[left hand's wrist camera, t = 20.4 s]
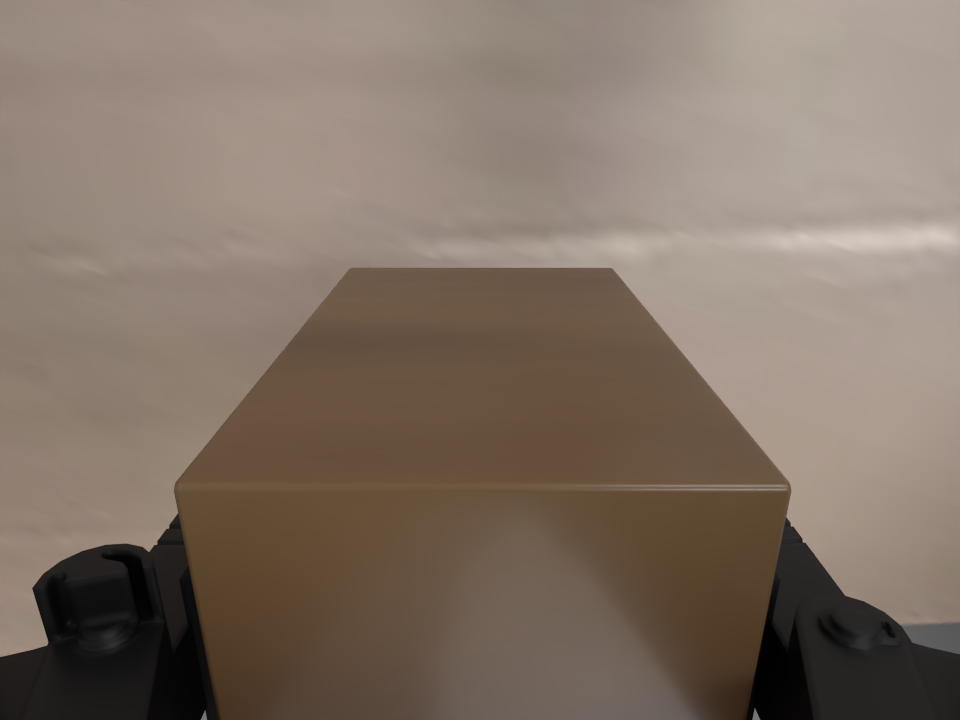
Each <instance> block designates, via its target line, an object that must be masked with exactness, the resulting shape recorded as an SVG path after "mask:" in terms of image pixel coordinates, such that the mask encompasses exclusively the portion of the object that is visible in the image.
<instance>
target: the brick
mask: <svg viewBox="0 0 960 720" xmlns="http://www.w3.org/2000/svg"><path fill="white" fill-rule="evenodd" d="M174 493H175V498H176V503H177V509H178V514H179V519H180V524H181V529H182V534H183V540H184V545H185V550H186V555H187V560H188V565H189V571H190V576H191V581H192V586H193V591H194V596H195V602H196V607H197V612H198V617H199V622H200V627H201V632H202V638H203V643H204V648H205V653H206V658H207V663H208V669H209V674H210V679H211V684H212V689H213V694H214V700H215V705H216V710H217V715H218V720H746V717H747V712H748V707H749V702H750V697H751V691H752V686H753V681H754V676H755V671H756V666H757V661H758V656H759V651H760V646H761V641H762V636H763V631H764V626H765V621H766V616H767V611H768V606H769V601H770V596H771V590H772V585H773V580H774V575H775V570H776V565H777V560H778V555H779V550H780V545H781V540H782V535H783V530H784V525H785V520H786V515H787V510H788V505H789V500H790V494H791V487H790V483H789V482H788V480H787V479H786V478H785V477H784V476H783V474H782V473H781V472H780V471H779V470H778V468H777V467H776V466H775V465H774V463H773V462H772V461H771V460H770V459H769V457H768V456H767V455H766V454H765V453H764V451H763V450H762V449H761V448H760V447H759V445H758V444H757V443H756V442H755V440H754V439H753V438H752V437H751V436H750V434H749V433H748V432H747V431H746V430H745V428H744V427H743V426H742V425H741V424H740V422H739V421H738V420H737V419H736V417H735V416H734V415H733V414H732V413H731V411H730V410H729V409H728V408H727V407H726V405H725V404H724V403H723V402H722V401H721V399H720V398H719V397H718V396H717V394H716V393H715V392H714V391H713V390H712V388H711V387H710V386H709V385H708V384H707V382H706V381H705V380H704V379H703V378H702V376H701V375H700V374H699V373H698V371H697V370H696V369H695V368H694V367H693V365H692V364H691V363H690V362H689V361H688V359H687V358H686V357H685V356H684V355H683V353H682V352H681V351H680V350H679V348H678V347H677V346H676V345H675V344H674V342H673V341H672V340H671V339H670V338H669V336H668V335H667V334H666V333H665V332H664V330H663V329H662V328H661V327H660V325H659V324H658V323H657V322H656V321H655V319H654V318H653V317H652V316H651V315H650V313H649V312H648V311H647V310H646V309H645V307H644V306H643V305H642V304H641V302H640V301H639V300H638V299H637V298H636V296H635V295H634V294H633V293H632V292H631V290H630V289H629V288H628V287H627V286H626V284H625V283H624V282H623V281H622V279H621V278H620V277H619V276H618V275H617V273H616V272H615V271H614V270H613V269H611V268H351V269H349V270H348V272H347V273H346V274H345V275H344V277H343V278H342V279H341V280H340V281H339V283H338V284H337V285H336V286H335V288H334V289H333V290H332V291H331V293H330V294H329V295H328V296H327V297H326V299H325V300H324V301H323V302H322V304H321V305H320V306H319V307H318V308H317V310H316V311H315V312H314V313H313V315H312V316H311V317H310V318H309V320H308V321H307V322H306V323H305V324H304V326H303V327H302V328H301V329H300V331H299V332H298V333H297V334H296V335H295V337H294V338H293V339H292V340H291V342H290V343H289V344H288V345H287V347H286V348H285V349H284V350H283V351H282V353H281V354H280V355H279V356H278V358H277V359H276V360H275V361H274V362H273V364H272V365H271V366H270V367H269V369H268V370H267V371H266V372H265V374H264V375H263V376H262V377H261V378H260V380H259V381H258V382H257V383H256V385H255V386H254V387H253V388H252V389H251V391H250V392H249V393H248V394H247V396H246V397H245V398H244V399H243V400H242V402H241V403H240V404H239V405H238V407H237V408H236V409H235V410H234V412H233V413H232V414H231V415H230V416H229V418H228V419H227V420H226V421H225V423H224V424H223V425H222V426H221V427H220V429H219V430H218V431H217V432H216V434H215V435H214V436H213V437H212V439H211V440H210V441H209V442H208V443H207V445H206V446H205V447H204V448H203V450H202V451H201V452H200V453H199V454H198V456H197V457H196V458H195V459H194V461H193V462H192V463H191V464H190V466H189V467H188V468H187V469H186V470H185V472H184V473H183V474H182V475H181V477H180V478H179V479H178V480H177V481H176V483H175V487H174Z"/></svg>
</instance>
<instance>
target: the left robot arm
mask: <svg viewBox="0 0 960 720" xmlns="http://www.w3.org/2000/svg"><path fill="white" fill-rule="evenodd" d="M169 526H170V527H169V529H166V530H165V532H164V533H163V534H162V536H161V537H160V539H159V540H158V544H157V545H154V547H153V548H152V549H151V551H150V552H148V551H147V550H145V549H144V548H143V547H140V546H135V545H130V544H113V545H104V546H100V547H96V548H92V549H89V550H85V551H82V552H80V553H78V554H75V555H73V556H71V557H69V558H67V559H64V560H62V561H61V562H59V563H58V564H56V565H55V566H54V567H52V568H51V569H50V570H48V571H47V572H45V573H44V574H43V575H42V576H41V578H40V579H39V580H38V582H37V583H36V584H35V585H34V587H33V588H32V589H33V592H34V595H35V599H36V602H37V605H38V609H39V612H40V615H41V619H42V622H43V625H44V628H45V632H46V635H47V638H48V642H49V643H48V645H47V646H44V647H41V648H37V649H34V650H30V651H26V652H21V653H17V654H13V655H8V656H4V657H0V720H201V718H202V716H203V713H204V711H206V716H207V720H218V715H217V710H216V705H215V700H214V694H213V689H212V684H211V679H210V674H209V669H208V663H207V658H206V653H205V648H204V643H203V638H202V632H201V627H200V622H199V617H198V612H197V607H196V602H195V596H194V591H193V586H192V581H191V576H190V571H189V565H188V560H187V555H186V550H185V545H184V540H183V534H182V529H181V524H180V519H179V514H177V516H176V517H175V518H174V520H173V521H172V522H171V524H170V525H169ZM754 708H755V709H756V711H757V713H758V715H759V718H760V720H960V655H959V654H955V653H951V652H946V651H942V650H938V649H933V648H929V647H925V646H921V645H918V644H915V643H912V642H911V640H910V638H909V637H908V635H907V634H906V632H905V631H904V630H903V628H902V627H901V626H900V625H899V624H898V623H897V622H896V621H894V620H893V619H892V618H891V617H890V616H888V615H887V614H886V613H885V612H883V611H881V610H879V609H877V608H875V607H873V606H871V605H869V604H868V603H866V602H864V601H860V600H857V599H854V598H850V597H847V596H845V595H844V594H843V592H842V591H841V590H840V588H839V587H838V586H837V584H836V583H835V582H834V580H833V579H832V578H831V576H830V575H829V574H828V572H827V571H826V570H825V568H824V567H823V566H822V564H821V563H820V562H819V560H818V559H817V558H816V556H815V555H814V554H813V552H812V551H811V550H810V548H809V547H808V546H807V544H806V543H803V541H802V538H801V536H800V535H799V534H798V532H797V531H796V530H795V528H794V527H791V525H790V522H789V520H788V519H787V518H786V520H785V525H784V530H783V535H782V540H781V545H780V550H779V555H778V560H777V565H776V570H775V575H774V580H773V585H772V590H771V596H770V601H769V606H768V611H767V616H766V621H765V626H764V631H763V636H762V641H761V646H760V651H759V656H758V661H757V666H756V671H755V676H754V681H753V686H752V691H751V697H750V702H749V707H748V712H747V717H746V720H752V718H753V713H754Z"/></svg>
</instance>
